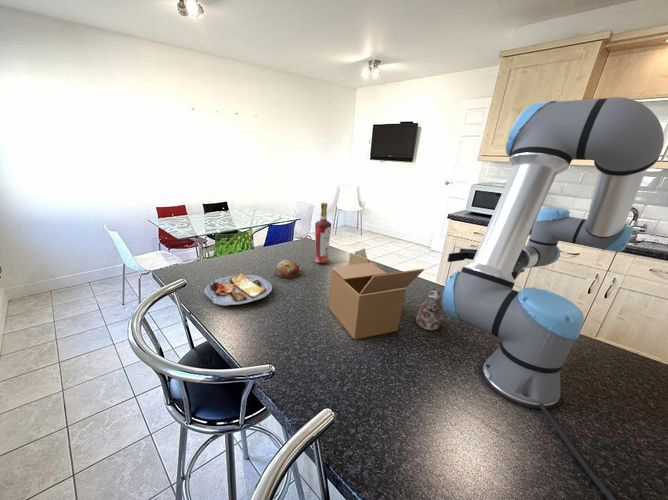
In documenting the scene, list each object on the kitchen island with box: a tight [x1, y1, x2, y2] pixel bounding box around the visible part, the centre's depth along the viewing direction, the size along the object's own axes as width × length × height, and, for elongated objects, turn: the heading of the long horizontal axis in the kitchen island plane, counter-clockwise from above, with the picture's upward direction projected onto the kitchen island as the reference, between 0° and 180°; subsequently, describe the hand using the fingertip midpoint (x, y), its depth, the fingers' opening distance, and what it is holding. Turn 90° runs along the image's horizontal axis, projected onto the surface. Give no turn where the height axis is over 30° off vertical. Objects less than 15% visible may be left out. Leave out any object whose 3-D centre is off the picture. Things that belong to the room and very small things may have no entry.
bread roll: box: [275, 259, 300, 279], centre depth 126 cm, size 10×10×8 cm
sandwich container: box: [348, 252, 372, 265], centre depth 114 cm, size 9×15×15 cm, turn 131°
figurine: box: [415, 286, 443, 331], centre depth 92 cm, size 7×7×12 cm
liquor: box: [313, 202, 332, 265], centre depth 134 cm, size 7×7×28 cm
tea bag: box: [354, 248, 368, 259], centre depth 129 cm, size 4×7×10 cm, turn 135°
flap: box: [360, 268, 425, 294], centre depth 78 cm, size 9×15×1 cm
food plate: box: [203, 271, 273, 306], centre depth 110 cm, size 25×23×4 cm
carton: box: [328, 262, 406, 340], centre depth 93 cm, size 19×15×15 cm
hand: (465, 265), depth 89 cm, fingers open, 13 cm apart
